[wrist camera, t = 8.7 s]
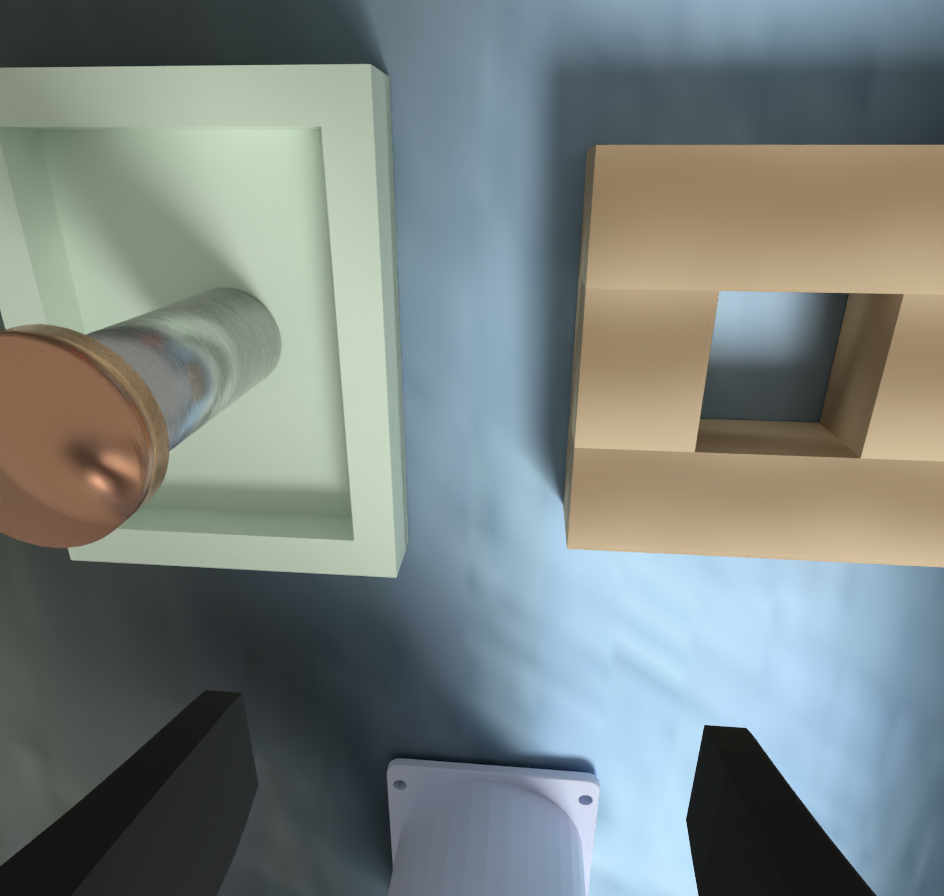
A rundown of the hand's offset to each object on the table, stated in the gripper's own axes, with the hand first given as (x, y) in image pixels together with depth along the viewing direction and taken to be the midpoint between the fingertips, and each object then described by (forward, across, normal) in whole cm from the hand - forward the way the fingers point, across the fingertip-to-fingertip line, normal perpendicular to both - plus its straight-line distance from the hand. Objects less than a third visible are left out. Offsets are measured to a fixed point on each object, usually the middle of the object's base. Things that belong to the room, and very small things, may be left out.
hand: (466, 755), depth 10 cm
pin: (+10, +8, -4) cm, 13 cm away
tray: (+10, +8, -4) cm, 14 cm away
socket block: (+10, -7, -4) cm, 13 cm away
